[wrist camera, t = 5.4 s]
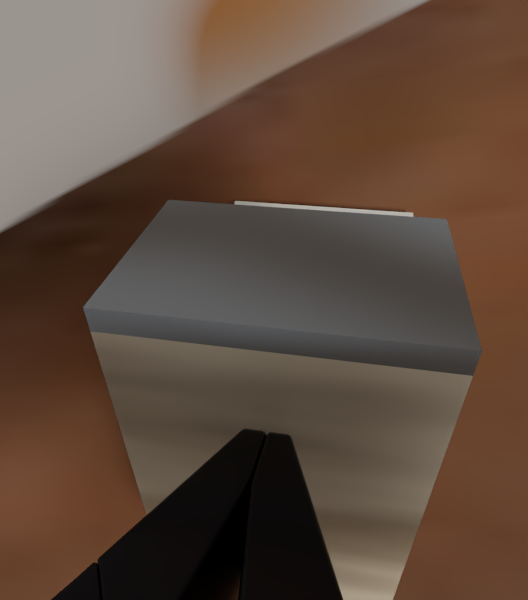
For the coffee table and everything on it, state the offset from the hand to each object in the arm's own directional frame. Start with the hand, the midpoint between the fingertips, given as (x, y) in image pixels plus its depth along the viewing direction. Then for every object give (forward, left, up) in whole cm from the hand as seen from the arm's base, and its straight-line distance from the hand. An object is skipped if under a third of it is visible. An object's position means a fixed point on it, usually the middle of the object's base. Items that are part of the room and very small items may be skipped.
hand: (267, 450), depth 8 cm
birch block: (-1, -1, -7) cm, 7 cm away
